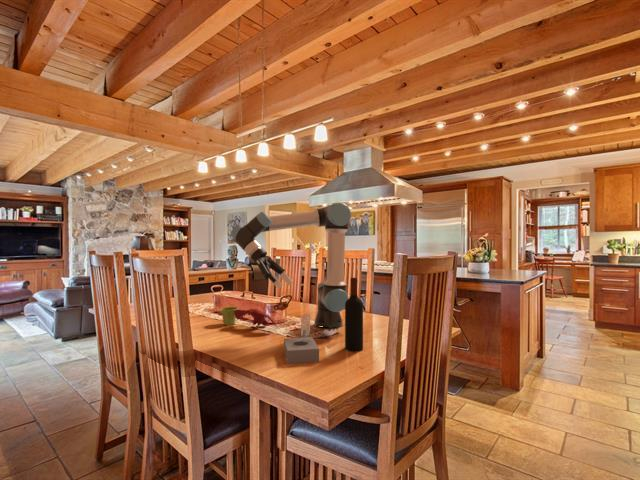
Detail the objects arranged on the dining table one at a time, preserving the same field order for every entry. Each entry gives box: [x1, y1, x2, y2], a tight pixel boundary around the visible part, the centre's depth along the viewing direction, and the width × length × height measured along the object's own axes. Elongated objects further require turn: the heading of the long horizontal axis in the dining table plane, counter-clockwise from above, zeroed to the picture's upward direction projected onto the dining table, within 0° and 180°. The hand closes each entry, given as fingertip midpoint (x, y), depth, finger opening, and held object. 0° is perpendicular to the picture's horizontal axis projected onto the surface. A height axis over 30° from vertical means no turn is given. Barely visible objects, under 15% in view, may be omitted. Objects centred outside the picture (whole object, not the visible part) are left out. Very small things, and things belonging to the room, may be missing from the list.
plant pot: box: [219, 306, 239, 326], centre depth 190 cm, size 9×9×9 cm
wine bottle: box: [344, 277, 364, 353], centre depth 147 cm, size 8×8×30 cm
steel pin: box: [300, 314, 311, 338], centre depth 155 cm, size 4×4×12 cm
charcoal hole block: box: [283, 336, 320, 365], centre depth 138 cm, size 12×16×5 cm
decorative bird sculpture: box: [234, 308, 277, 330], centre depth 181 cm, size 28×9×15 cm
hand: (285, 285), depth 160 cm, fingers open, 13 cm apart
